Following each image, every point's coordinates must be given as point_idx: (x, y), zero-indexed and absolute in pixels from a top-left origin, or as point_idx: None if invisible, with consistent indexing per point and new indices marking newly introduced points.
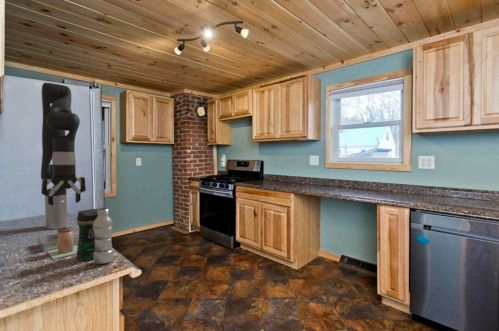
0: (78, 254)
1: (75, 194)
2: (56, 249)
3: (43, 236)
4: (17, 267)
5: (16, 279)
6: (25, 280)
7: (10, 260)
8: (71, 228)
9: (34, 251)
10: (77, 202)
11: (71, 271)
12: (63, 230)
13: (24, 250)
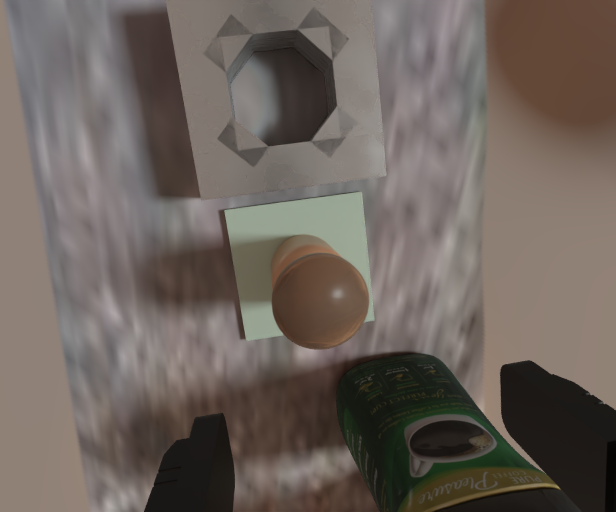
0: (342, 431)
1: (588, 438)
2: (267, 205)
3: (200, 7)
4: (110, 352)
5: (122, 481)
6: None
7: (67, 231)
8: (358, 308)
9: (165, 147)
10: (511, 425)
11: (298, 509)
12: (306, 333)
13: (114, 89)
